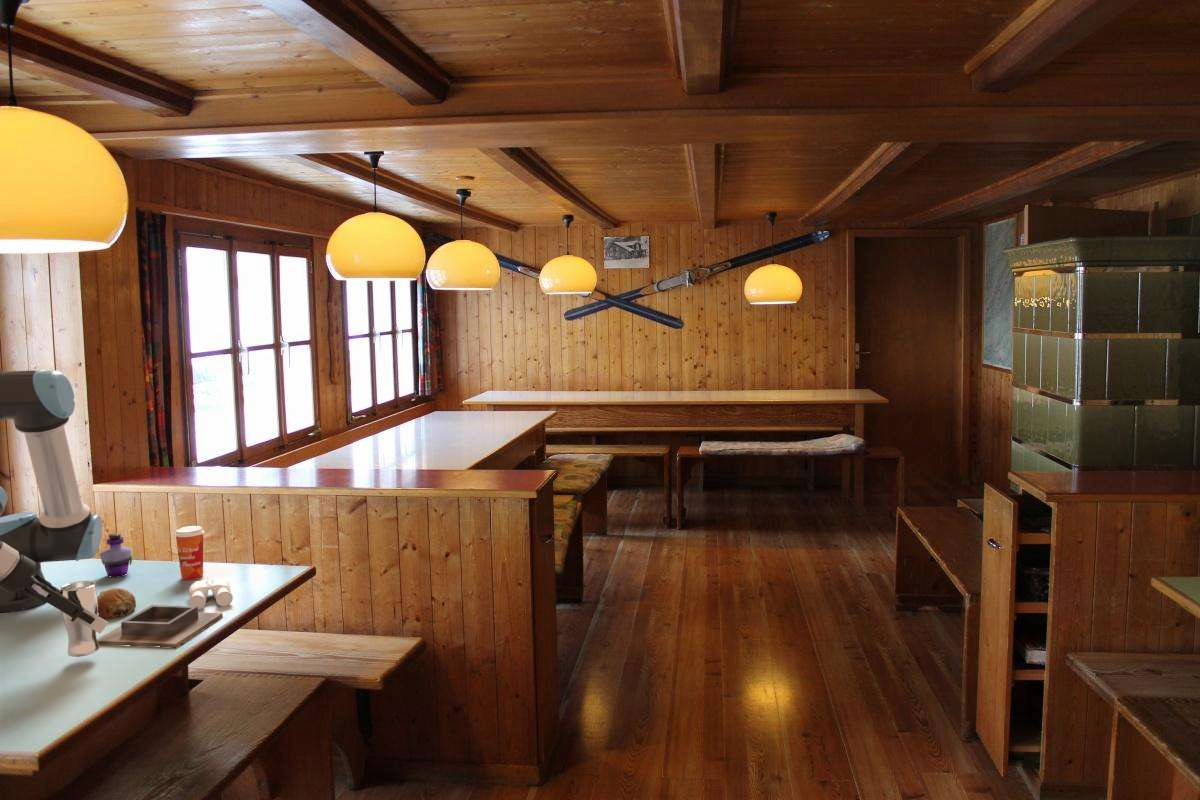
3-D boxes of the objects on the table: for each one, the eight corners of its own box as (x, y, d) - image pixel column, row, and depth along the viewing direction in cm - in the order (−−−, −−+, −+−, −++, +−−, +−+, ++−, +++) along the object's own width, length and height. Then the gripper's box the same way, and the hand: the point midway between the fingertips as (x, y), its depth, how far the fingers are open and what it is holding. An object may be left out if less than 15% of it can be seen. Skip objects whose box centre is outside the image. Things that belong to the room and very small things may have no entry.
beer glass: (90, 657, 199) (84, 590, 198) (58, 657, 200) (52, 590, 198) (107, 645, 206) (102, 580, 204) (77, 645, 206) (71, 580, 205)
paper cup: (172, 581, 259) (169, 532, 257) (185, 572, 267) (182, 525, 265) (199, 581, 259) (196, 532, 257) (212, 572, 266) (209, 525, 265)
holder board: (95, 644, 213) (93, 628, 212) (148, 614, 232) (146, 599, 232) (176, 648, 210) (174, 631, 210) (222, 617, 230) (221, 601, 229)
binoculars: (189, 612, 234) (187, 594, 234) (188, 594, 249) (187, 577, 248) (233, 606, 239) (232, 588, 238) (230, 588, 253) (229, 571, 253)
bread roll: (138, 619, 239) (137, 588, 242) (134, 614, 230) (133, 582, 233) (94, 625, 236) (94, 594, 238) (89, 620, 227) (88, 588, 229)
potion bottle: (138, 574, 265) (135, 533, 264) (106, 581, 260) (102, 539, 258) (129, 568, 272) (126, 528, 270) (96, 574, 266) (93, 534, 264)
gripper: (-17, 572, 197) (75, 625, 210) (3, 595, 183) (99, 650, 196) (10, 543, 200) (98, 597, 213) (31, 563, 186) (124, 620, 199)
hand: (99, 623), depth 205 cm, fingers closed on beer glass, 7 cm apart
